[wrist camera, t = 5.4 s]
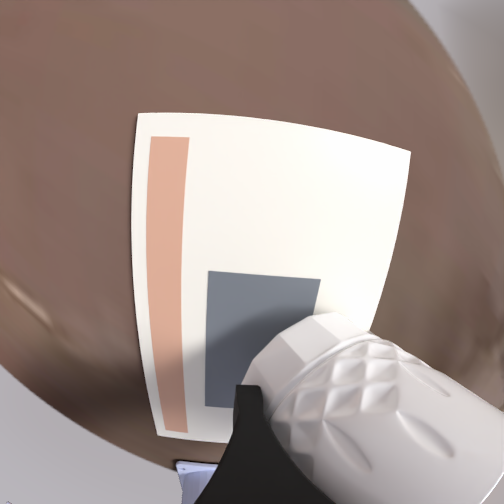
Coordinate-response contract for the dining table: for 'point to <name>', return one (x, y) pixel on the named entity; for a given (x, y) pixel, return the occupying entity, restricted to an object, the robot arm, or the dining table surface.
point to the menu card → (248, 248)
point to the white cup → (375, 418)
